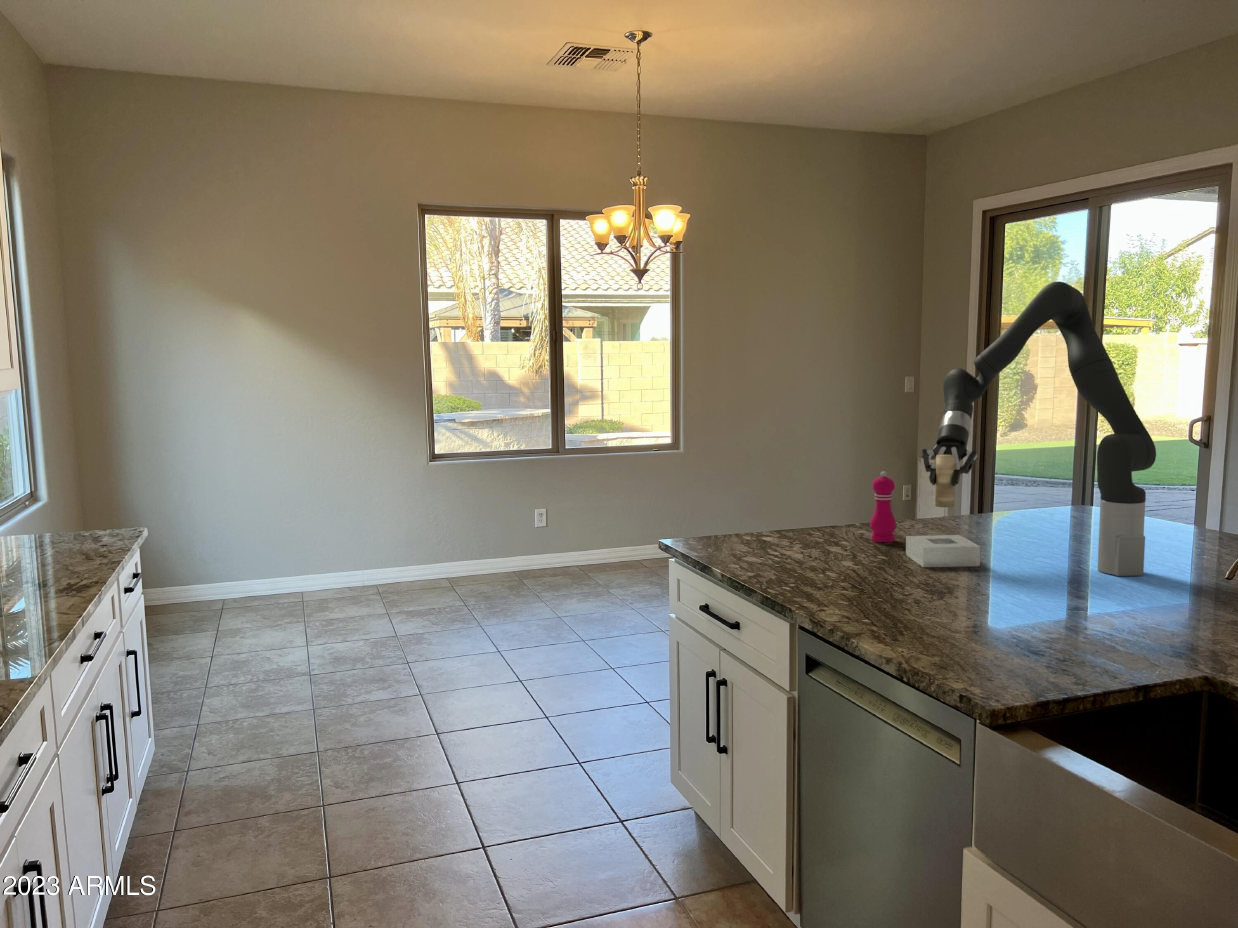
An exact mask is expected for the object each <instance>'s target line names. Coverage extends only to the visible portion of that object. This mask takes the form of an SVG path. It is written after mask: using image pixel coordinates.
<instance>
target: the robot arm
mask: <svg viewBox="0 0 1238 928" xmlns="http://www.w3.org/2000/svg"><path fill="white" fill-rule="evenodd" d="M1049 321H1052V322H1053V323H1054V324H1055V325H1056V326H1057V328H1058V330H1059V332H1060V334H1061V336H1062V337H1063V340H1064V342H1065V345H1066V350H1067V351H1066V353H1067V364H1068V370H1069V373H1070V376H1071V378H1072V381H1073V382H1074V386H1075V388H1076V389H1077V391H1078V392H1077V393H1079V395H1080V396H1081V397H1082V398H1083V400H1084V401H1085V402H1086V403H1088V405H1090V407H1092V409H1094V410H1095V411H1096V412H1097V413H1099V414H1100V415H1101V417H1103V418H1104V419H1105V421H1107V423H1108V425H1109V426H1110V428H1111V430H1112V432H1113V433H1110V434H1107V435H1105V436H1104V437H1103V438H1102V439H1101V440H1100V442H1099V444H1098V446H1097V453H1096V471H1097V473H1096V475H1097V478H1096V481H1097V483H1096V484H1097V487H1098V489H1099V493H1100V501H1099V502H1100V503H1099V504H1100V505H1099V522H1098V523H1099V527H1098V545H1097V546H1098V547H1097V548H1098V550H1097V552H1098V553H1097V570H1098V571H1099V572H1102V573H1104V574H1109V575H1114V576H1117V577H1124V576H1126V577H1127V576H1129V577H1131V576H1132V577H1133V576H1135V577H1136V576H1144V569H1145V553H1146V552H1145V549H1146V536H1145V534H1144V533H1145V517H1146V515H1145V514H1146V500H1147V499H1146V495H1147V494H1146V490H1145V489H1144V488H1143V487H1141V486H1140V487H1139V486H1137V485H1136V484H1135V483H1134V482H1133V472H1140V471H1146V470H1148V469H1150V468H1152V466H1153V465H1154V464H1155V461H1156V457H1157V448H1156V445H1155V442H1154V440H1153V439H1152V436H1151V435H1150V433H1149V431H1148V430H1147V427H1145V425H1144V424H1143V422H1142V420H1141V418H1140V417H1139V415H1138V414H1137V413H1138V412H1136V410H1135V408H1134V406H1133V405H1132V402H1131V400H1130V398H1129V396H1128V394H1127V393H1126V390H1125V388H1124V386H1123V383H1122V382H1121V380H1120V377H1119V375H1118V372H1117V370H1116V368H1115V366H1114V364H1113V361H1112V359H1111V357H1110V356H1109V354H1108V352H1107V350H1106V348H1105V345H1104V344H1103V342H1102V340H1101V338H1100V337H1099V335H1098V333H1097V331H1096V330H1095V329H1096V328H1095V327H1094V324H1093V320H1092V317H1091V314H1090V311H1089V307H1088V304H1087V302H1086V299H1085V297H1084V295H1083V293H1082V292H1081V291H1080V290H1078V288H1075V287H1074V286H1072V285H1070V284H1068V283H1067V282H1064V281H1053V282H1050V283H1048V284H1047V285H1044V287H1042V288H1041V290H1039V292H1038V293H1037V294H1036V295H1035V296H1034V297H1033V299H1032V300H1031V301H1030V302H1029V303H1028V305H1027V306H1026V307H1025V308H1024V309H1023V310H1022V311H1021V313H1020V314H1019V315H1018V316H1017V318H1016V319H1015V320H1014V321H1013V322H1012V323H1011V324H1010V326H1008V328H1006V329H1005V331H1004V332H1003V333H1002V334H1001V335H1000V336H999V337H998V338H997V339H996V340H994V341H993V342H992V343H991V344H990V345H988V347H986V348H985V349H984V350H983V351H981V353H980V354H978V355H977V357H975V359H974V361H973V364H974V367H975V368H976V370H977V371H978V373H979V374H978V376H977V377H975V376H973V375H972V374H971V373H970V372H968V371H967V370H966V369H964V368H961V367H958V368H954V369H951V370H950V371H949V372H948V373H947V375H945V378H944V381H943V397H944V405H945V406H944V411H943V416H942V419H941V422H940V424H939V429H938V434H937V438H936V443H935V446H934V447H933V448H932V449H927V448H923V449H922V450H921V453H922V454H921V455H922V460H923V464H924V469H925V472H926V473H927V472H928V473H929V472H930V473H929V477H928V478H929V479H928V480H929V482H930V484H931V486H936V455H954V456H955V463H954V471H953V476H952V486H954V487H956V486H957V485H958V484H959V483H960V477H961V475H962V474H965V475H966V474H969V473H970V471H971V470H972V468H973V467H974V464H975V463H976V462H977V460H978V453H977V451H976V450H971V451H970V450H968V449H967V447H968V442H969V436H970V435H971V425H972V424H971V421H972V417H973V412H974V406H973V403H975V402H977V401H979V399H981V398H982V396H983V395H984V393H985V392H986V390H987V389H988V387H989V386H990V384H991V383H992V382H993V380H994V379H995V378H996V377H997V375H999V373H1001V372H1002V371H1003V370H1004V369H1005V368H1007V367H1008V366H1009V365H1010V364H1011V363H1012V362H1013V361H1014V360H1016V358H1017V357H1018V356H1019V355H1020V353H1021V352H1022V350H1023V348H1024V347H1025V346H1026V343H1027V342H1028V341H1029V339H1030V338H1031V337H1032V336H1033V334H1034V333H1035V332H1036V331H1037V330H1039V328H1041V327H1042V326H1043V325H1045V324H1046V323H1048V322H1049ZM933 455H934V457H935V458H934V461H933V463H932V464H930V460H931V458H932V456H933ZM965 457H966V460H965V461H964V463H963V465H960V462H961V461H962V460H963V459H964V458H965Z"/></svg>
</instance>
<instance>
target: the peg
mask: <svg viewBox="0 0 1238 928" xmlns="http://www.w3.org/2000/svg"><path fill="white" fill-rule="evenodd" d="M935 458H936V484H935V499H934V500H935V502H934V503H935V506H934V507H938V508H953V507H954V503H955V502H954V500H955V486H952V476H953V471H954V470H955V465H954V463H955V456H954V455H936V457H935Z"/></svg>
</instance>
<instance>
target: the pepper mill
mask: <svg viewBox="0 0 1238 928" xmlns="http://www.w3.org/2000/svg"><path fill="white" fill-rule="evenodd" d="M879 475H880V476H879V477H876V478H875V479H874V480H873V482H872V489H873V491H874V499H875V508H874V509H875V510H874V512H873V515H872V517H871V519H870V523H869V527H870V530H872V532H873V533H871V541H872V540H873V541H872V542H875V543H882V542H888V543H893V542H894V541H895V534H894V532H895V530H896V529H897V522H896V519H895V517H894V514H893V511H892V507H891V506H892V505H891V504H892V500H893V496H894V495H893V491H894V489H895V486H896V485H895V481H894V480H893V479H892V478H890V477H888V474H887V472H886V471H881V472H880V474H879Z"/></svg>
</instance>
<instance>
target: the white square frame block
mask: <svg viewBox="0 0 1238 928" xmlns="http://www.w3.org/2000/svg"><path fill="white" fill-rule="evenodd" d="M905 555H906V556H907V557H908V558H910V559H911V560H913V561H914V562H915V563H916V564H918V565H919V566H920V567H922V568H952V567H953V568H956V567H957V568H959V567H980V565H981V564H980V563H981V546H980V545H978V544H976V543H975V542H973V541H971V540H969V539H968V538H965V537H963V536H962V535H961V534H945V535H943V534H941V535H940V534H939V535H907V536H905Z"/></svg>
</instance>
